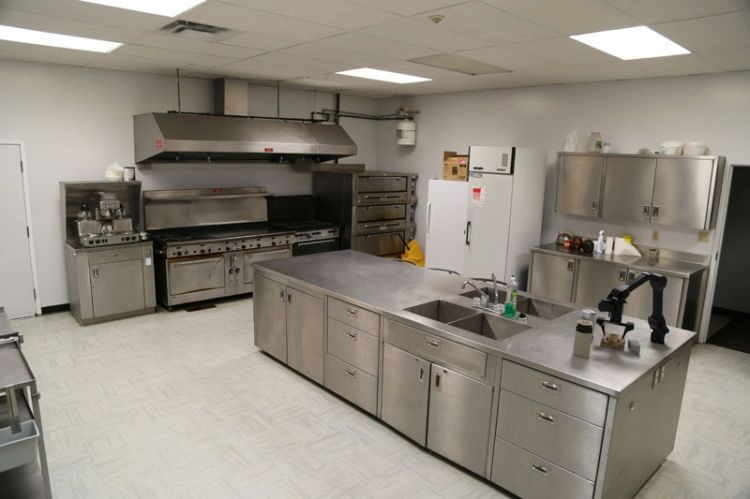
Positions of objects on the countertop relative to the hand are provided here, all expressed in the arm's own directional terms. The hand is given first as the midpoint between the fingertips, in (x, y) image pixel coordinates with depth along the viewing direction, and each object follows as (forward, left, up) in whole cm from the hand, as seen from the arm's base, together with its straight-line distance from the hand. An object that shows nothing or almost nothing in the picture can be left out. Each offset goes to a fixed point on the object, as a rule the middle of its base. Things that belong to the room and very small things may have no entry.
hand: (613, 338), depth 270 cm
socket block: (0, -2, -4) cm, 5 cm away
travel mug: (+13, +25, -4) cm, 28 cm away
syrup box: (+15, -8, -4) cm, 17 cm away
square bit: (0, 0, -4) cm, 4 cm away
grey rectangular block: (-10, +3, -4) cm, 12 cm away
